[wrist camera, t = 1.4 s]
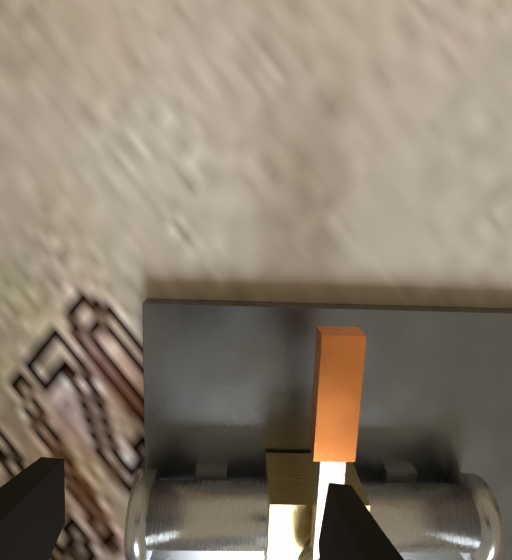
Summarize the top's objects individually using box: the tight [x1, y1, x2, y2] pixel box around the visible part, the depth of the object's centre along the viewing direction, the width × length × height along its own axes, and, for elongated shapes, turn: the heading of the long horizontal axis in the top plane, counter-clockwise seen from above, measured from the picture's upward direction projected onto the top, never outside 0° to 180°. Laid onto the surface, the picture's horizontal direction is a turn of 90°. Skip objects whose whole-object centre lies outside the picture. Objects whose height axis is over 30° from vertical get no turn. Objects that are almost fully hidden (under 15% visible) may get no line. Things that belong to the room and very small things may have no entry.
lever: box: [297, 326, 366, 560], centre depth 17 cm, size 12×2×1 cm, turn 178°
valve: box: [124, 299, 512, 560], centre depth 21 cm, size 21×18×6 cm
